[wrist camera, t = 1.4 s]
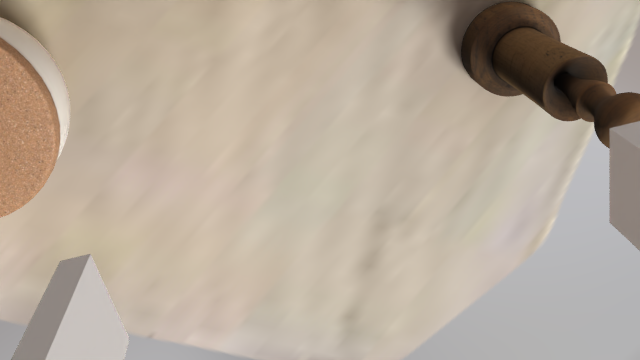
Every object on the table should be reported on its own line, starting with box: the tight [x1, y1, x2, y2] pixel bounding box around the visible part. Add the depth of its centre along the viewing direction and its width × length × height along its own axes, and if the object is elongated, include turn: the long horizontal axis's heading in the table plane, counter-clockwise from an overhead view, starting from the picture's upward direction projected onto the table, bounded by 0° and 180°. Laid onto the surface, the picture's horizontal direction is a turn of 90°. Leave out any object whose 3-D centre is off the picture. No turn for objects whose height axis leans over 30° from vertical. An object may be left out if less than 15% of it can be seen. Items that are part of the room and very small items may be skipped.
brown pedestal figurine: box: [462, 2, 640, 148], centre depth 38 cm, size 7×6×18 cm
